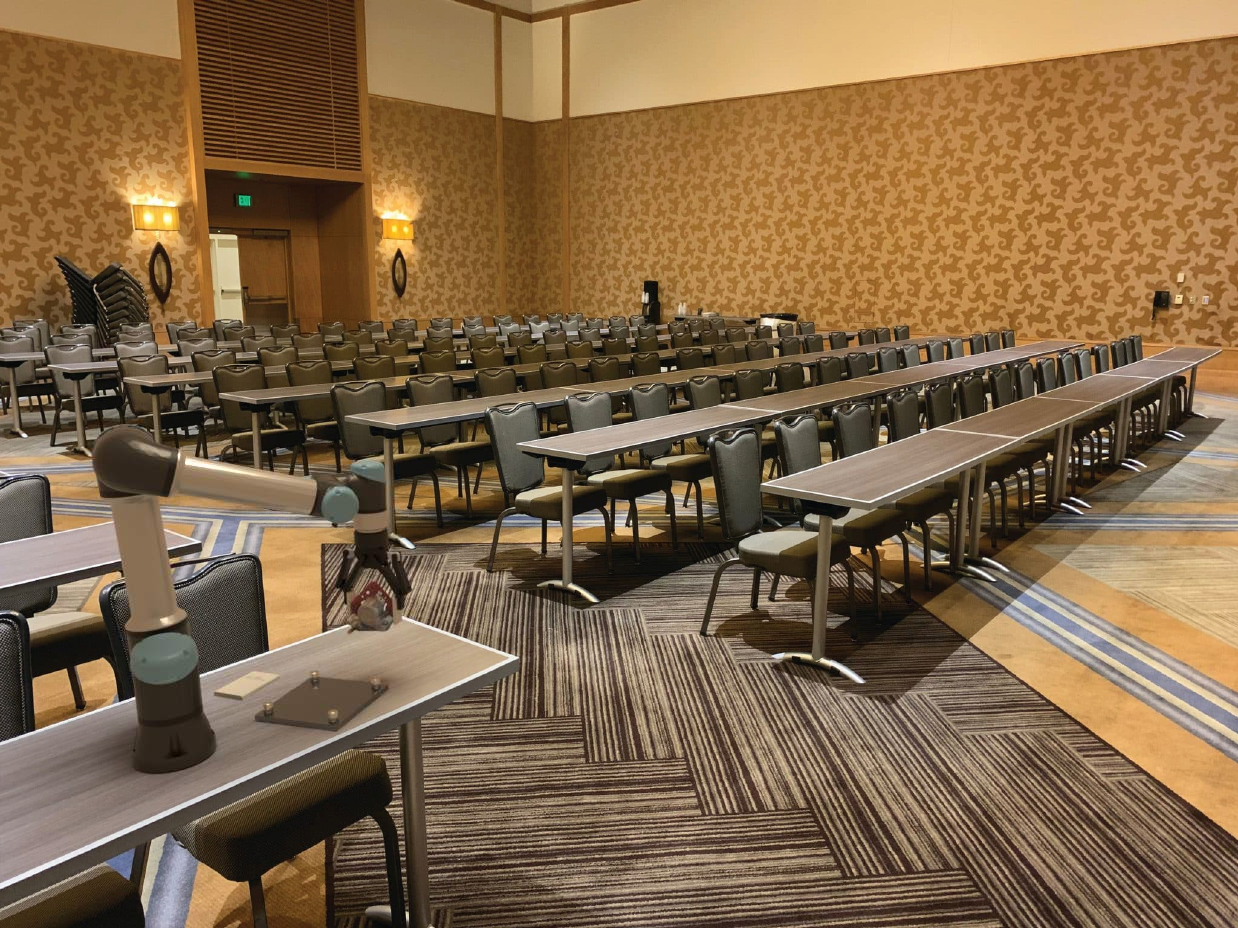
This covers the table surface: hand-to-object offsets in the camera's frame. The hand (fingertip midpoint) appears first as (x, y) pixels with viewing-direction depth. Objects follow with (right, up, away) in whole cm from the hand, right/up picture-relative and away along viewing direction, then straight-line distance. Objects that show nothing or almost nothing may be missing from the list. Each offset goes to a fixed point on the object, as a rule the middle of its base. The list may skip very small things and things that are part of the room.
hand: (375, 620), depth 211 cm
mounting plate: (-9, -17, -9) cm, 21 cm away
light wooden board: (-30, -16, +1) cm, 34 cm away
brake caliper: (0, -2, 0) cm, 2 cm away
